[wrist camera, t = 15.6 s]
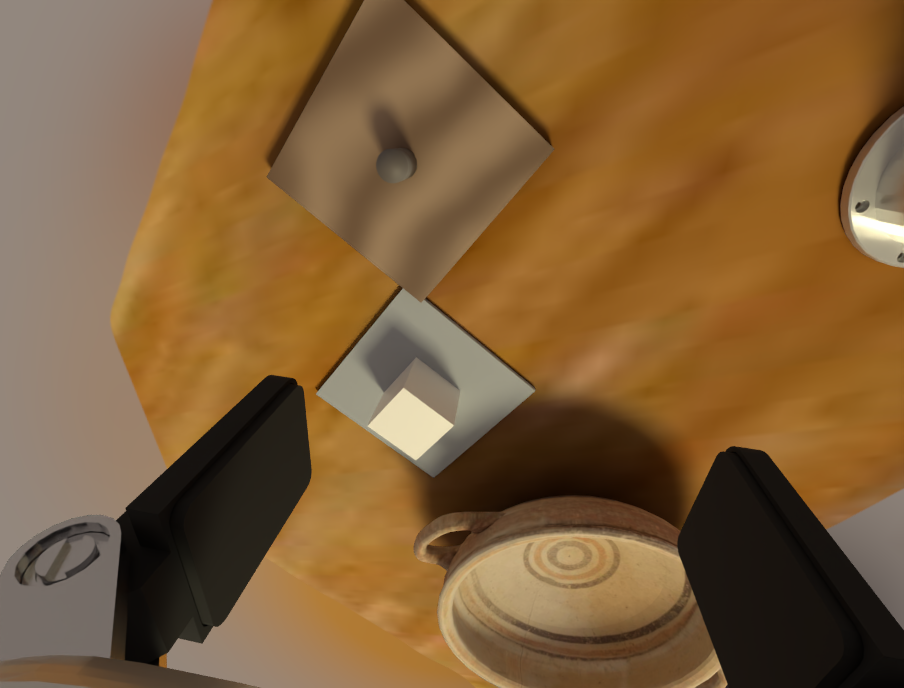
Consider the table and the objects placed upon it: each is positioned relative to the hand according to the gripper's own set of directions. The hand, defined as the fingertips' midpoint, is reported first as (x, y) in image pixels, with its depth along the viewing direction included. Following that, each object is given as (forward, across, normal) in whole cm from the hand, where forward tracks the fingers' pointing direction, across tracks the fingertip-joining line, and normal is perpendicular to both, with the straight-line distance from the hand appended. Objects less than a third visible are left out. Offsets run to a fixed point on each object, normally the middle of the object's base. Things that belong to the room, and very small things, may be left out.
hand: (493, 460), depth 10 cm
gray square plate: (+28, +7, +17) cm, 33 cm away
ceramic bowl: (+28, -12, +36) cm, 47 cm away
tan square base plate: (+28, +9, -4) cm, 29 cm away
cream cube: (+27, +7, +17) cm, 33 cm away
